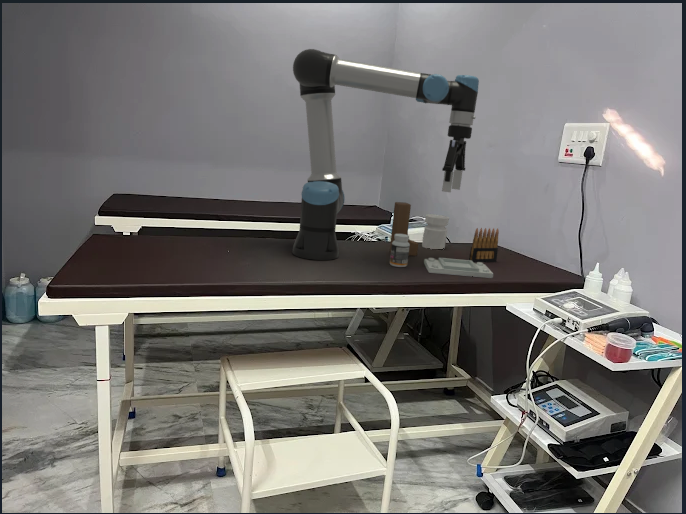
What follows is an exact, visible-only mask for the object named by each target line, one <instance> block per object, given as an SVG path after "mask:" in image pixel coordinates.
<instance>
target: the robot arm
mask: <svg viewBox="0 0 686 514" xmlns="http://www.w3.org/2000/svg"><path fill="white" fill-rule="evenodd" d="M292 71H293V76H294V78H295V80H296V82H298V83H299V93H300V98H301V99H302V100H304V102H305V111H306V124H307V125H306V126H307V134H308V147H309V161H310V171H311V174H310V175H309V177H308V178H307V182H306V183H304V185H303V187H302V191H301V194H300V195H301V202H300V203H301V205H300V220H299V231H298V233H297V236H296V238H295V241H294V243H293V246H292V254H293V255H294V256H295V257H298V258H302V259H307V260H314V261H330V260H336V259H337V258H339V253H340V250H339V244H338V240H337V236H336V226H337V216H338V213H340V211H341V210H342V209H343V206H344V204H345V200H346V199H345V193H344V190H343V185H342V184H343V182H342V176H341V175H340V174H339V173H338V172H337V163H336V150H335V136H334V133H335V132H334V121H333V120H334V119H333V106H332V100H333V98H334V97H335V95H336V88H335V87H336V86H341V87H346V88H347V87H348V88H354V89H358V90H366V91H370V92H376V93H377V92H378V93H383V94H389V95H395V96H400V97H405V98H406V97H407V98H411V99H412V98H413V99H415V101H416V102H418V103H423V104H434V105H443V106H445V105H446V106H451V109H450V115H449V116H450V117H449V121H448V123H450V125H448V128H447V129H448V130H447V136H448V137H450V138H452V139H450V140H449V146H448V150H447V152H446V157H445V161H444V164H443V167H442V169H441V170H442V171H444V175H443V181H442V187H441V188H442V189H441V192H443V193H451V192H452V190H456V191H460V190H461V185H462V183H461V182H462V179H463V178H462V177H463V171H466V166H465V165H466V163H465V162H466V146H467V141H466V140H465V139H467V140H468V139H471V137H472V133H473V132H472V131H473V127H471V126H473V123H474V120H475V119H476V115H475V111H476V107H477V99H478V93H479V83H480V80H479V78H478V77H477V76H474V75H468V74H458V75H456V76H455V79H454V80H447V78H446V77H445V76H443V75H442V74H439V73H434V74H431V73H424V72H420V71H419V72H418V71H414V70H413V71H412V70H408V69H407V70H406V69H400V68H396V67H389V66H384V65H377V64H372V63H365V62H359V61H355V60H354V61H353V60H348V59H347V60H346V59H341V58H339V56H338V54H334V53H329V52H324V51H321V50H318V49H315V48H308V49H304V50H302V51H301V52H299V53H298V54H297V55H296V57H295V58H294V59H293V64H292Z"/></svg>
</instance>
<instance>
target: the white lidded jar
mask: <svg viewBox="0 0 686 514" xmlns="http://www.w3.org/2000/svg"><path fill="white" fill-rule="evenodd" d="M449 221H450V217H448V216H447V215H441V214H434V213H433V214H431V213H429V214H428V213H427V214H426V215H425V219H424V222H425V223H426V225H425V226H424V230H423V233H422V234H423V235H422V243H421V246H422V248H425V249H427V248H430V249H429V250H432V249H443V248H444V249H445V247H446V240H447V235H448V229H447V226H448V225H449ZM444 249H443V250H444Z"/></svg>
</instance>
